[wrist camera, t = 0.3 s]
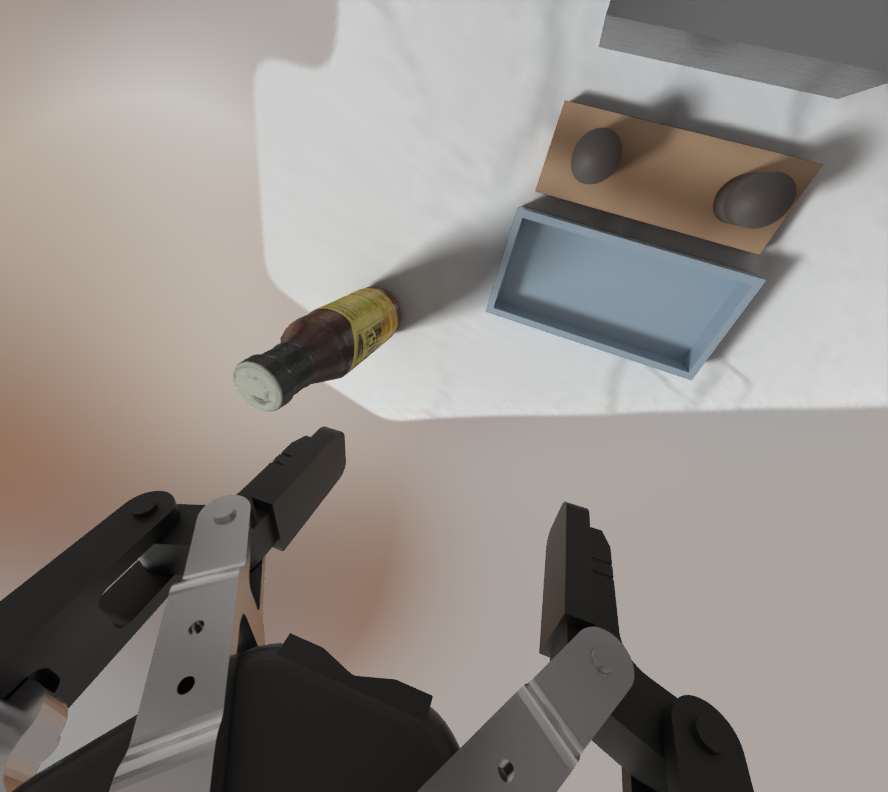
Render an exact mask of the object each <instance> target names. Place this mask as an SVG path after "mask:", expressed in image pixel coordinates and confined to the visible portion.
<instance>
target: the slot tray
mask: <svg viewBox="0 0 888 792" xmlns="http://www.w3.org/2000/svg"><path fill="white" fill-rule="evenodd" d="M765 281H766V280H765V279H763V278H761V277H758V276H756V275H754V274H752V273H750V272H747V271H744V270H740V269H737V268H733V267H730V266H726V265H723V264H719V263H716V262H713V261H709V260H706V259H702V258H699V257H695V256H692V255H688V254H685V253H682V252H678V251H675V250H671V249H668V248H664V247H661V246H657V245H654V244H651V243H647V242H644V241H640V240H637V239H633V238H630V237H626V236H623V235H620V234H616V233H613V232H609V231H606V230H602V229H599V228H595V227H592V226H589V225H585V224H582V223H578V222H575V221H571V220H568V219H564V218H561V217H558V216H554V215H551V214H547V213H544V212H540V211H537V210H533V209H530V208H527V207H523V206H521V207H518V209H517V212H516V215H515V218H514V222H513V225H512V228H511V231H510V234H509V238H508V241H507V244H506V247H505V251H504V254H503V257H502V260H501V264H500V267H499V270H498V273H497V277H496V280H495V283H494V286H493V289H492V293H491V296H490V299H489V302H488V306H487V309H486V312H488V313H491V314H494V315H497V316H500V317H503V318H506V319H509V320H512V321H515V322H518V323H521V324H524V325H527V326H530V327H533V328H536V329H539V330H542V331H545V332H548V333H551V334H554V335H557V336H560V337H563V338H566V339H569V340H572V341H575V342H578V343H581V344H584V345H587V346H590V347H593V348H596V349H599V350H602V351H605V352H608V353H611V354H614V355H617V356H620V357H623V358H626V359H629V360H632V361H635V362H638V363H641V364H644V365H647V366H650V367H653V368H656V369H659V370H662V371H665V372H668V373H671V374H674V375H677V376H680V377H683V378H686V379H689V380H692V379H693V378H694V376H695V375H696V374H697V372H698V371H699V370H700V368H701V367H702V366H703V364H704V363H705V362H706V360H707V359H708V358H709V356H710V355H711V354H712V352H713V351H714V350H715V348H716V347H717V346H718V344H719V343H720V342H721V340H722V339H723V338H724V336H725V335H726V334H727V332H728V331H729V330H730V328H731V327H732V326H733V324H734V323H735V322H736V320H737V319H738V318H739V316H740V315H741V314H742V312H743V311H744V310H745V308H746V307H747V305H748V304H749V303H750V301H751V300H752V299H753V297H754V296H755V295H756V293H757V292H758V291H759V289H760V288H761V287H762V285H763V284H764V283H765Z"/></svg>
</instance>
